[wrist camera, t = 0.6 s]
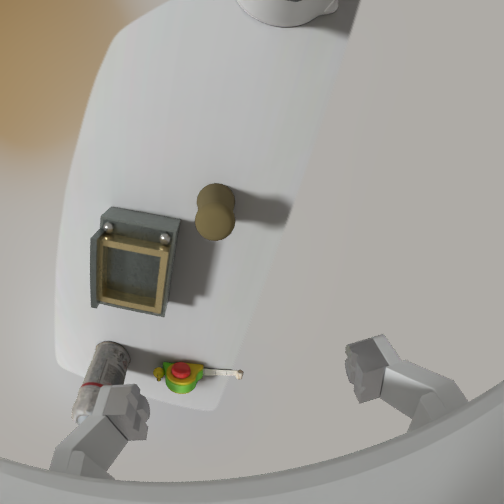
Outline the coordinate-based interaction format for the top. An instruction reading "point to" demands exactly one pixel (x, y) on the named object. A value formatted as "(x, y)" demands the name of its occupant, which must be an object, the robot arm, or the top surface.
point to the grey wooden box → (133, 260)
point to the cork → (215, 212)
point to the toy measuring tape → (188, 375)
